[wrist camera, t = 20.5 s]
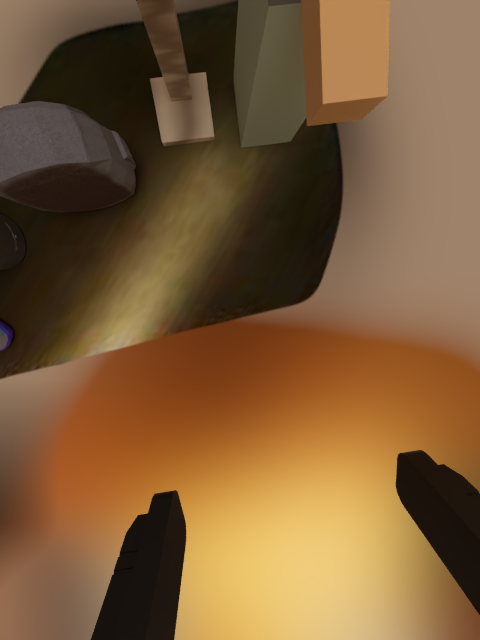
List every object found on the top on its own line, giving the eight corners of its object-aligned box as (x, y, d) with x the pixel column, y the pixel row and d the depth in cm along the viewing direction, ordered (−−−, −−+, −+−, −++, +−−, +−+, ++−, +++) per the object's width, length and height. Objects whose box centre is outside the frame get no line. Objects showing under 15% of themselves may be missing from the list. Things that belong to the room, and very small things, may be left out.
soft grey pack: (68, 220, 42) (-59, 201, 23) (42, 166, 40) (-122, 93, 21) (154, 193, 42) (99, 150, 23) (134, 136, 40) (53, 35, 21)
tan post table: (164, 146, 40) (-18, -164, 10) (152, 84, 38) (-132, -573, 7) (214, 140, 41) (192, -182, 10) (206, 78, 38) (143, -586, 8)
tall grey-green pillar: (240, 147, 41) (270, -1, 16) (233, 79, 39) (254, -222, 14) (290, 141, 41) (392, -15, 16) (285, 73, 39) (399, -234, 14)
